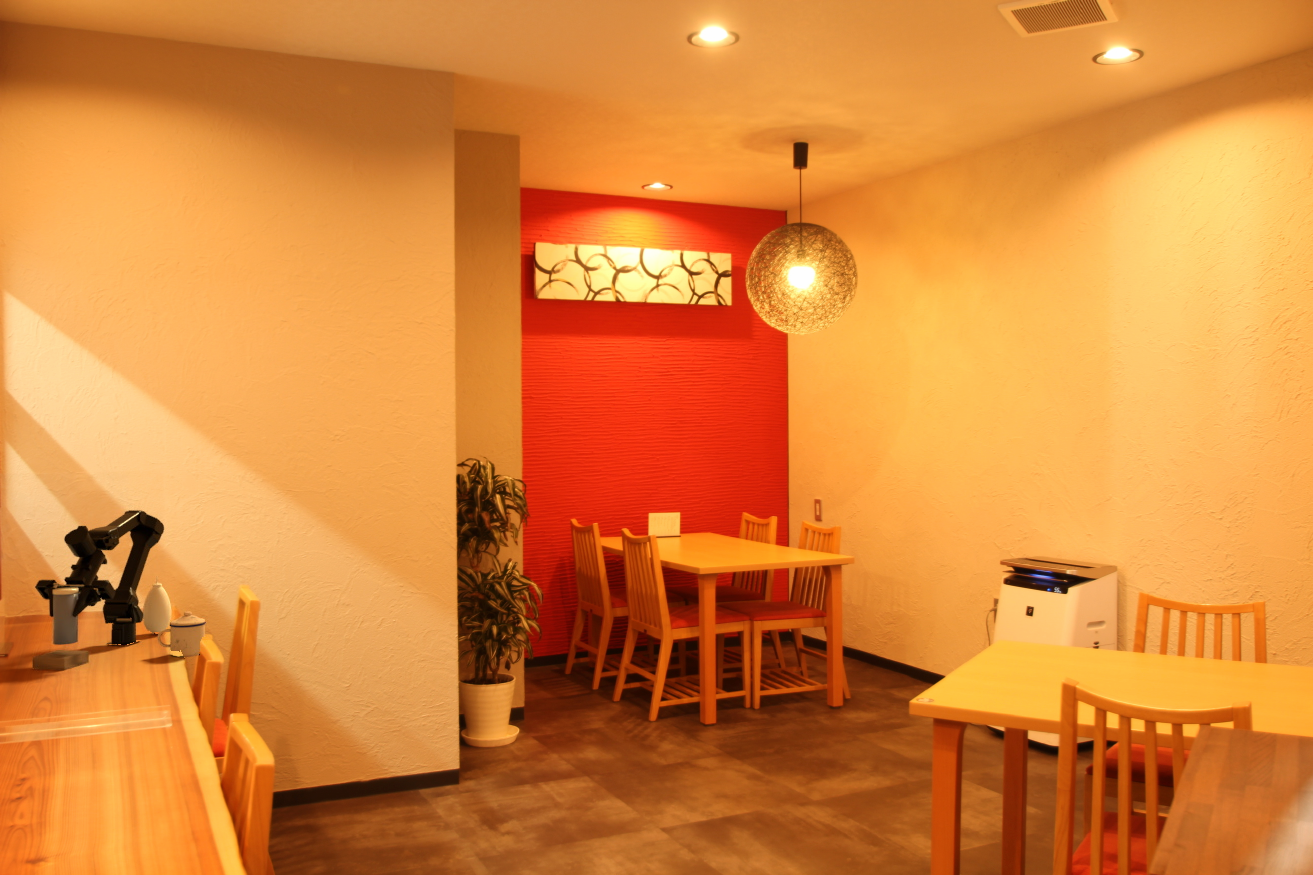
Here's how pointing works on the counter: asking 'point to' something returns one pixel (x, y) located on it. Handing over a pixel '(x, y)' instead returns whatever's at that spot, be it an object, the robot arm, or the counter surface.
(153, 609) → the sauce bottle
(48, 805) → the counter surface
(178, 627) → the teacup with lid
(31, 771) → the counter surface
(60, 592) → the canister
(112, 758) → the counter surface
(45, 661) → the stand
